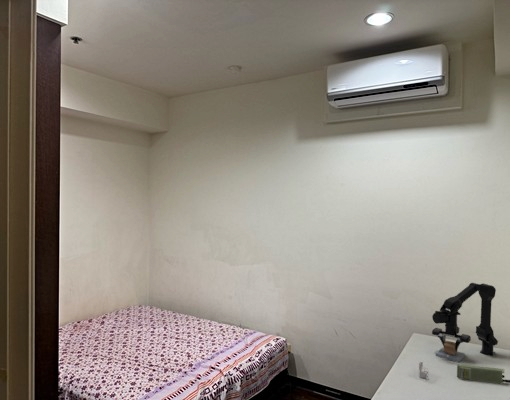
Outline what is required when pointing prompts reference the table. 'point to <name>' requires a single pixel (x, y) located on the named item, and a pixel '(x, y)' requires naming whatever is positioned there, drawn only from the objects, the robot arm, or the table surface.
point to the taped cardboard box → (450, 347)
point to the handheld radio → (480, 373)
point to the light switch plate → (450, 355)
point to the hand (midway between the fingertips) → (450, 350)
